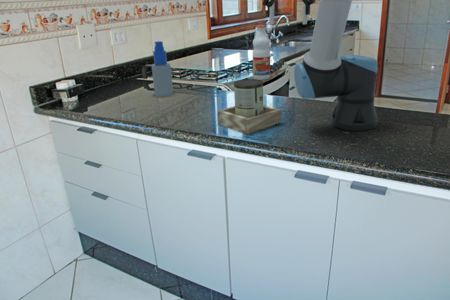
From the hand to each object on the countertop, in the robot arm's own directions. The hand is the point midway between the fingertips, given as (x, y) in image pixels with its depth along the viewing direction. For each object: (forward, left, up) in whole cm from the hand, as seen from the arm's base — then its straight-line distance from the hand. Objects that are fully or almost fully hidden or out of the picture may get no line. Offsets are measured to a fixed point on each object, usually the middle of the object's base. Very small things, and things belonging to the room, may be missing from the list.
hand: (287, 24), depth 146 cm
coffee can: (-8, +29, -31) cm, 43 cm away
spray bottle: (+56, +26, -32) cm, 69 cm away
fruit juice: (+45, -30, -32) cm, 63 cm away
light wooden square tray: (-8, +29, -32) cm, 44 cm away
